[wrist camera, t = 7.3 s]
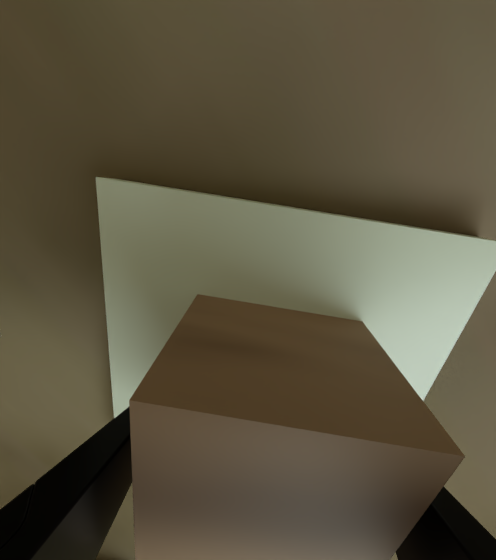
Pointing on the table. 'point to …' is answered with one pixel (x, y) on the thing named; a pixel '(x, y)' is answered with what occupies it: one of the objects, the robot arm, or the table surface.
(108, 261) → the plate
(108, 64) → the table surface
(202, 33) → the table surface
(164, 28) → the table surface
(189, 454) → the walnut block
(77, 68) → the table surface
